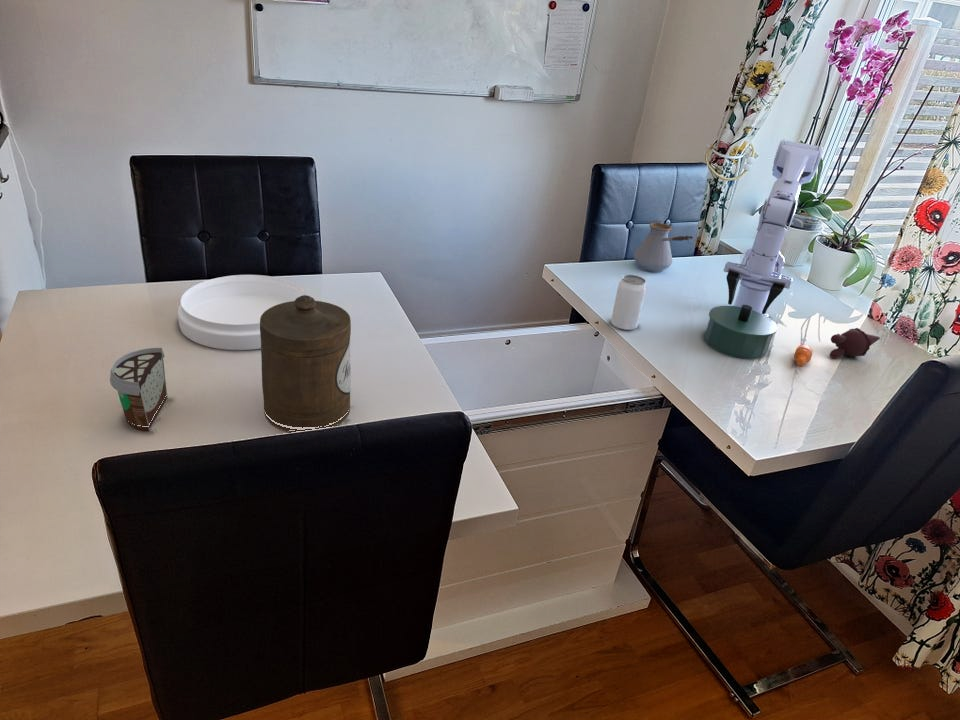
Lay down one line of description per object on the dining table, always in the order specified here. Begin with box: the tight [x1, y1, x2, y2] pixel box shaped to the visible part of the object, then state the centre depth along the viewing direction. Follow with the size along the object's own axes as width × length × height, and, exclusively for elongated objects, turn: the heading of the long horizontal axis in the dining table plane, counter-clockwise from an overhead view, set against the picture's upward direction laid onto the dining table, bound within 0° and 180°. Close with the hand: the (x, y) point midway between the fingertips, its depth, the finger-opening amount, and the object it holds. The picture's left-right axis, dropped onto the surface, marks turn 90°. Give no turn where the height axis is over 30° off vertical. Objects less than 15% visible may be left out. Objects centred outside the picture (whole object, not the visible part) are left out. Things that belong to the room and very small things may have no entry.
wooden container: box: [260, 294, 352, 433], centre depth 113 cm, size 15×15×22 cm
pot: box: [704, 318, 774, 360], centre depth 158 cm, size 14×14×6 cm
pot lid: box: [708, 305, 778, 337], centre depth 156 cm, size 15×15×4 cm
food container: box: [109, 347, 169, 433], centre depth 110 cm, size 12×6×10 cm, turn 5°
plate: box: [177, 274, 306, 351], centre depth 144 cm, size 27×27×6 cm
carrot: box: [793, 344, 813, 367], centre depth 154 cm, size 10×4×4 cm, turn 150°
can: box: [610, 274, 647, 331], centre depth 160 cm, size 6×6×12 cm
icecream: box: [829, 327, 881, 359], centre depth 159 cm, size 7×7×15 cm
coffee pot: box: [633, 222, 696, 273], centre depth 193 cm, size 21×12×15 cm, turn 18°
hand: (746, 307), depth 155 cm, fingers open, 7 cm apart
